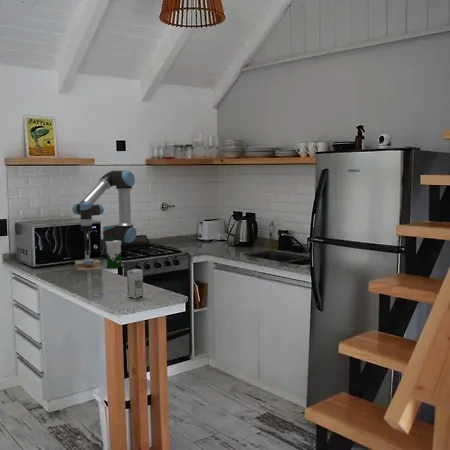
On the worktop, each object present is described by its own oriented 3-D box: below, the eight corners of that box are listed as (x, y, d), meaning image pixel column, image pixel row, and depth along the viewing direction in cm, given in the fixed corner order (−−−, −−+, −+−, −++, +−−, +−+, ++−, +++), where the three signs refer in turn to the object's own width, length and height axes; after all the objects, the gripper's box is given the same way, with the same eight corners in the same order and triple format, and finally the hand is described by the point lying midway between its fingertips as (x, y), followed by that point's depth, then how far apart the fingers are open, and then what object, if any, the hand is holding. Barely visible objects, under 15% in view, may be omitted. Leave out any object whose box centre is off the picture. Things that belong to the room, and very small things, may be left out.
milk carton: (112, 265, 374) (112, 236, 372) (123, 266, 370) (122, 237, 368) (104, 267, 366) (103, 238, 364) (115, 268, 362) (114, 239, 360)
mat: (76, 268, 366) (76, 267, 366) (100, 266, 372) (100, 265, 372) (78, 270, 357) (78, 270, 357) (102, 268, 362) (102, 268, 362)
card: (83, 262, 372) (83, 259, 372) (92, 261, 374) (92, 258, 374) (84, 264, 364) (84, 261, 363) (93, 263, 366) (93, 260, 365)
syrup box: (135, 295, 288) (135, 268, 286) (143, 297, 284) (142, 269, 283) (127, 297, 284) (126, 270, 282) (135, 299, 280) (134, 271, 278)
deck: (75, 265, 377) (75, 260, 377) (98, 263, 383) (98, 259, 383) (76, 268, 366) (76, 263, 366) (100, 266, 372) (100, 262, 371)
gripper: (79, 224, 376) (81, 258, 378) (81, 226, 364) (82, 261, 366) (90, 224, 378) (92, 257, 381) (93, 225, 366) (94, 260, 369)
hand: (87, 259), depth 373 cm, fingers closed
